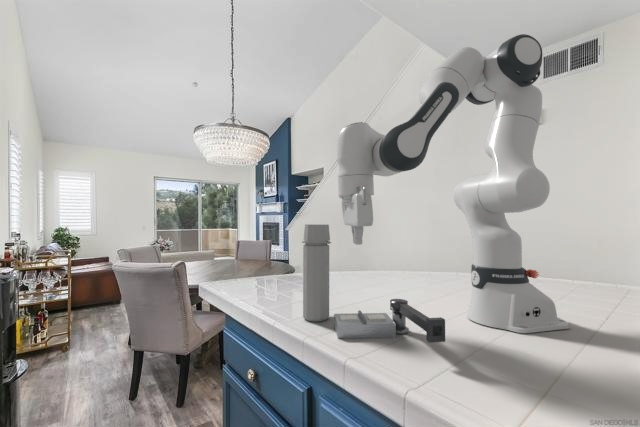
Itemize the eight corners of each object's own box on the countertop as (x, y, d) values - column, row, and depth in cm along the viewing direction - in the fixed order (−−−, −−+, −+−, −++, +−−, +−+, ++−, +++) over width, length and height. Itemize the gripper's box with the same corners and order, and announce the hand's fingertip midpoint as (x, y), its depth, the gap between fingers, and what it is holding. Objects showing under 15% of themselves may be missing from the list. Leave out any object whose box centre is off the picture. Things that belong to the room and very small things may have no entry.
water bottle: (328, 323, 76) (328, 224, 76) (298, 321, 77) (298, 224, 78) (333, 313, 85) (333, 224, 85) (306, 311, 86) (307, 224, 87)
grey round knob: (405, 327, 73) (405, 308, 73) (411, 334, 69) (411, 314, 69) (387, 327, 73) (387, 309, 73) (392, 334, 69) (392, 314, 69)
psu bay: (386, 325, 75) (386, 309, 75) (395, 337, 67) (395, 320, 67) (334, 325, 74) (334, 310, 74) (337, 338, 66) (337, 321, 66)
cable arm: (387, 311, 73) (387, 295, 73) (403, 310, 73) (403, 294, 74) (427, 342, 54) (427, 320, 54) (447, 341, 55) (447, 319, 55)
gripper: (379, 183, 65) (381, 247, 65) (360, 192, 86) (361, 240, 85) (350, 184, 65) (352, 248, 64) (338, 192, 85) (339, 241, 85)
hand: (357, 244), depth 75 cm, fingers closed
